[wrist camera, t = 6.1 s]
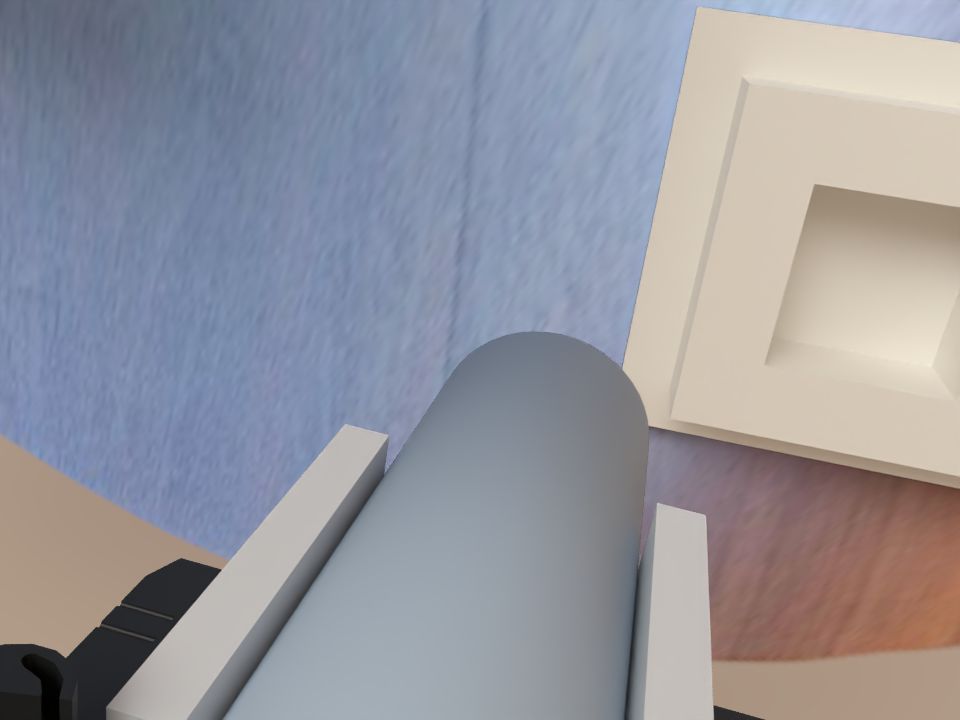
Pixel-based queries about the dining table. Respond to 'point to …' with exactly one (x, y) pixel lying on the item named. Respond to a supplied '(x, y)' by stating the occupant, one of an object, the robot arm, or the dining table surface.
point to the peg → (482, 557)
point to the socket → (808, 248)
